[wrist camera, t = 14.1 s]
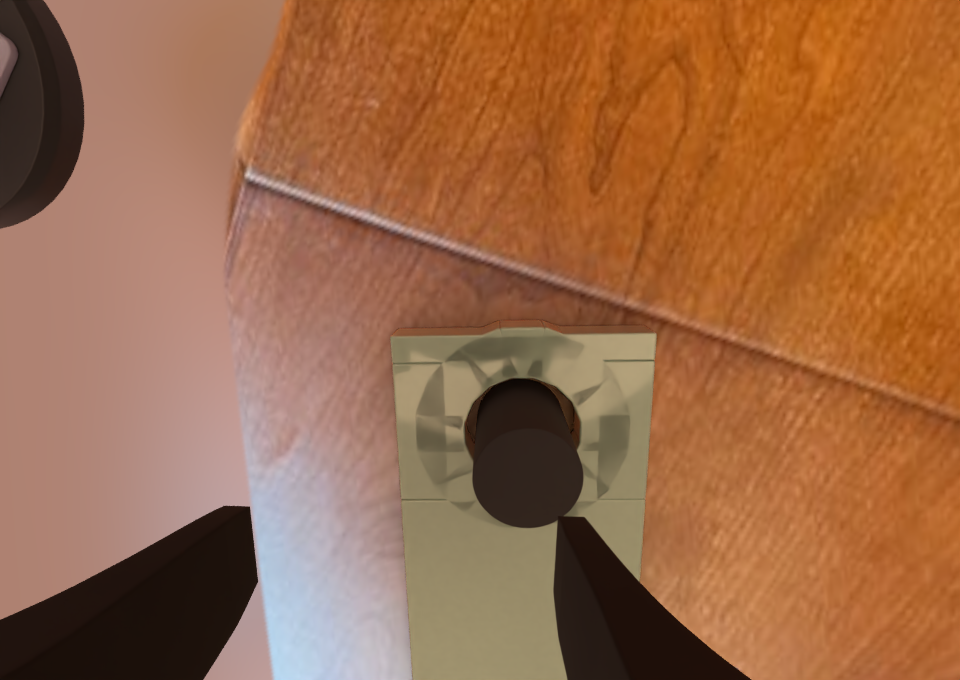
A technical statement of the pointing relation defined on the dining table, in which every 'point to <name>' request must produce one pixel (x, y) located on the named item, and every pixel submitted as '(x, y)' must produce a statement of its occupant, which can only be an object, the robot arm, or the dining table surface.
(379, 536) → the dining table surface
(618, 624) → the robot arm
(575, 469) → the stopper
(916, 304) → the dining table surface
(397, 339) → the plate
